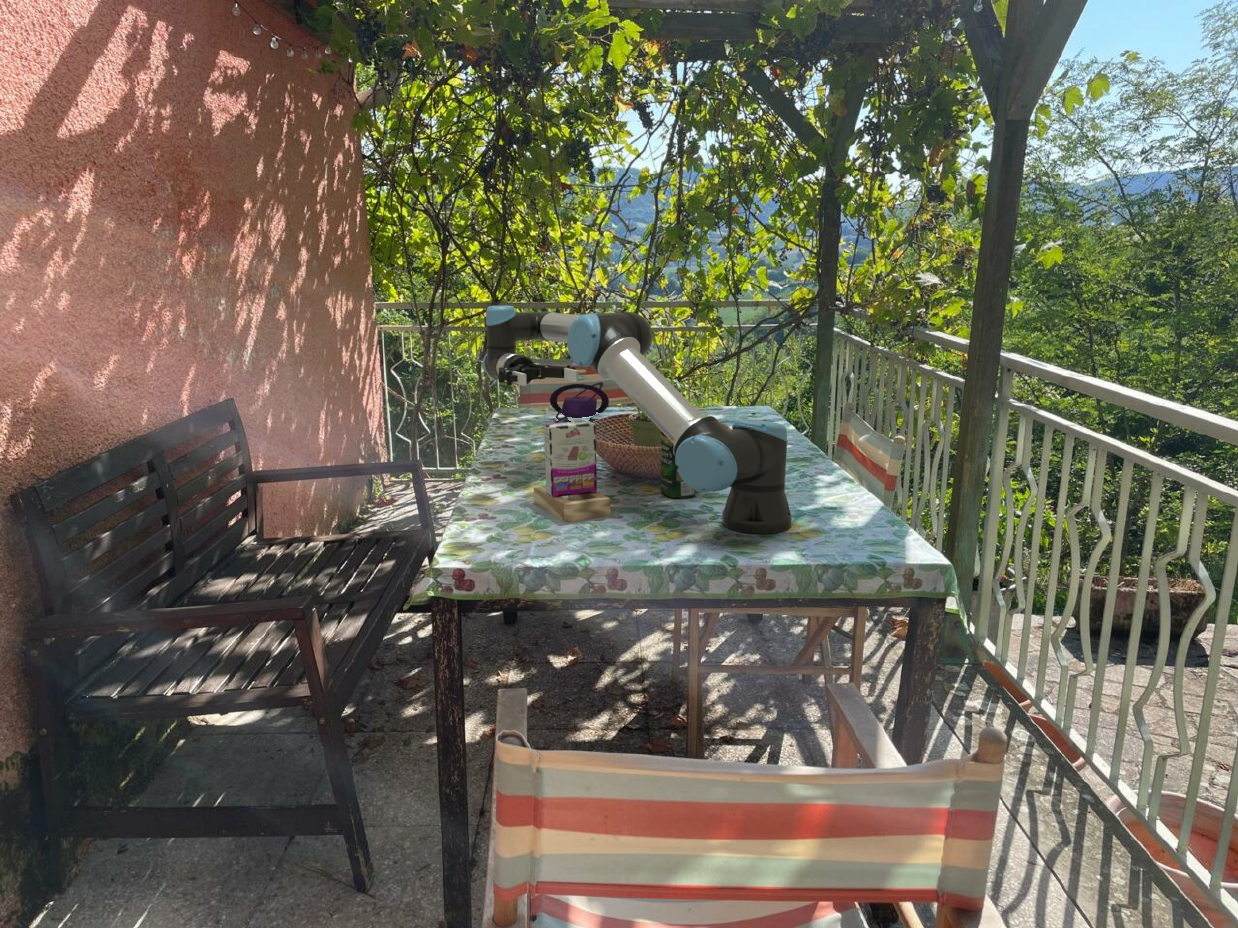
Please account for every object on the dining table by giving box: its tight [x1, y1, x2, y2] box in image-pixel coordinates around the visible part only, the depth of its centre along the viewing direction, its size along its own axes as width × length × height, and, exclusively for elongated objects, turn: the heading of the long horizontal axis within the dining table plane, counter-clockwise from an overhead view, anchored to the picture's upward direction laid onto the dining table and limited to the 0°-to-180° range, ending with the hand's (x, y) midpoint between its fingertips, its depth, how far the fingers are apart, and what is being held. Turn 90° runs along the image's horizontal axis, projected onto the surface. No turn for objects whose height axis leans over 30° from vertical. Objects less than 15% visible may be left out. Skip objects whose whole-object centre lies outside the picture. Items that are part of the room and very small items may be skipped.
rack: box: [533, 486, 611, 522], centre depth 196 cm, size 11×18×4 cm, turn 30°
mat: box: [522, 497, 624, 527], centre depth 196 cm, size 16×20×1 cm
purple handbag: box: [549, 362, 610, 422], centre depth 310 cm, size 22×21×25 cm
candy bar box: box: [543, 420, 598, 497], centre depth 194 cm, size 11×5×16 cm, turn 112°
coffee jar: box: [659, 430, 697, 499], centre depth 209 cm, size 10×8×19 cm
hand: (551, 378), depth 198 cm, fingers open, 13 cm apart
